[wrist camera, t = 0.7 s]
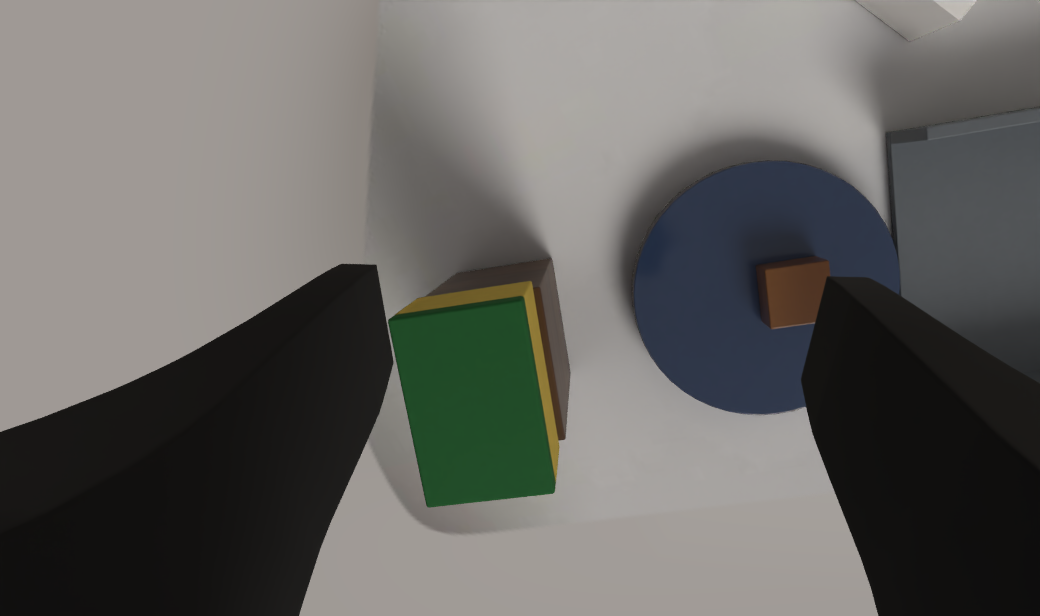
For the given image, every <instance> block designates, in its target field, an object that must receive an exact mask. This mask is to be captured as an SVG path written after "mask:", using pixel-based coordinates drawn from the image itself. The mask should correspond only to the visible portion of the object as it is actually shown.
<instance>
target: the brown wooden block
mask: <svg viewBox="0 0 1040 616" xmlns="http://www.w3.org/2000/svg"><path fill="white" fill-rule="evenodd" d="M526 281H531V282H532V286H533V292H534V298H535V304H536V310H537V316H538V322H539V328H540V334H541V340H542V346H543V352H544V358H545V364H546V370H547V376H548V382H549V388H550V394H551V400H552V406H553V412H554V418H555V424H556V430H557V436H558V440H564V439H565V437H566V424H567V412H568V399H569V386H570V373H571V372H570V366H569V360H568V354H567V347H566V341H565V335H564V329H563V323H562V316H561V310H560V304H559V298H558V291H557V285H556V279H555V273H554V267H553V260H552V258H549V259H542V260H536V261H530V262H523V263H517V264H510V265H504V266H498V267H491V268H485V269H479V270H472V271H466V272H460V273H456V274H455V275H453V276H452V277H451V278H449V279H448V280H447V281H445V282H444V283H443V284H441V285H440V286H439V287H437V288H436V289H435V290H433V291H432V292H431V293H429V294H428V295H427V296H425V297H428V296H435V295H441V294H448V293H454V292H461V291H467V290H474V289H480V288H487V287H493V286H500V285H506V284H513V283H519V282H526Z"/></svg>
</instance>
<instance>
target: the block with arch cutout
mask: <svg viewBox="0 0 1040 616" xmlns="http://www.w3.org/2000/svg"><path fill="white" fill-rule="evenodd" d="M855 1H857V2H858V3H859V4H861V5H862V6H863V7H865V8H866V9H867V10H869V11H870V12H871V13H873V14H874V15H875V16H876V17H878V18H879V19H880V20H882V21H883V22H884V23H886V24H887V25H888V26H890V27H891V28H892V29H894V30H895V31H896V32H898V33H899V34H900V35H902V36H903V37H904V38H905V39H907V40H908V41H909V42H911V41H913V40H915V39H918V38H920V37H923V36H925V35H927V34H930V33H932V32H935V31H937V30H939V29H942V28H944V27H947V26H949V25H951V24H954V23H956V22H959V21H960V20H961V19H962V18H963V17H964V15H965V14H966V13H967V12H968V11H969V9H970V8H971V7H972V6H973V4H974V3H975V2H976V1H977V0H855Z"/></svg>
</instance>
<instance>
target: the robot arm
mask: <svg viewBox="0 0 1040 616" xmlns="http://www.w3.org/2000/svg"><path fill="white" fill-rule="evenodd" d="M392 366H393V357H392V351H391V345H390V340H389V334H388V328H387V322H386V317H385V311H384V305H383V300H382V294H381V288H380V283H379V277H378V271H377V265H365V264H340V265H338V266H336V267H334V268H332V269H330V270H328V271H327V272H325V273H323V274H321V275H320V276H318V277H316V278H315V279H313V280H311V281H310V282H308V283H307V284H305V285H303V286H302V287H300V288H299V289H297V290H296V291H294V292H292V293H291V294H289V295H288V296H286V297H284V298H283V299H281V300H280V301H278V302H276V303H275V304H273V305H272V306H270V307H268V308H267V309H265V310H264V311H262V312H260V313H259V314H257V315H256V316H254V317H253V318H251V319H249V320H247V321H246V322H244V323H243V324H240V325H239V326H237V327H235V328H234V329H232V330H230V331H228V332H227V333H225V334H223V335H221V336H220V337H218V338H216V339H214V340H213V341H211V342H209V343H207V344H206V345H204V346H202V347H200V348H199V349H197V350H195V351H193V352H191V353H189V354H187V355H186V356H184V357H182V358H180V359H178V360H176V361H174V362H172V363H170V364H168V365H166V366H164V367H162V368H160V369H158V370H155V371H153V372H151V373H149V374H147V375H145V376H142V377H140V378H139V379H136V380H134V381H132V382H130V383H127V384H125V385H123V386H121V387H118V388H116V389H114V390H111V391H109V392H106V393H103V394H101V395H99V396H96V397H93V398H91V399H89V400H86V401H83V402H81V403H78V404H76V405H73V406H71V407H68V408H66V409H63V410H60V411H58V412H55V413H53V414H50V415H48V416H45V417H42V418H40V419H37V420H34V421H31V422H28V423H25V424H22V425H19V426H16V427H14V428H11V429H8V430H5V431H2V432H0V616H299V614H300V610H301V607H302V604H303V600H304V597H305V594H306V591H307V588H308V585H309V582H310V579H311V575H312V573H313V569H314V566H315V563H316V560H317V557H318V554H319V551H320V548H321V545H322V543H323V540H324V538H325V535H326V533H327V530H328V527H329V525H330V523H331V520H332V518H333V516H334V514H335V511H336V509H337V507H338V504H339V502H340V500H341V498H342V496H343V493H344V491H345V489H346V487H347V485H348V482H349V480H350V478H351V476H352V474H353V471H354V469H355V467H356V465H357V462H358V460H359V458H360V456H361V454H362V451H363V449H364V447H365V444H366V442H367V440H368V438H369V435H370V433H371V431H372V429H373V426H374V424H375V422H376V419H377V417H378V415H379V412H380V409H381V406H382V402H383V399H384V396H385V392H386V389H387V385H388V381H389V377H390V374H391V370H392ZM801 384H802V388H803V393H804V398H805V403H806V408H807V412H808V416H809V420H810V425H811V429H812V433H813V436H814V439H815V441H816V444H817V447H818V449H819V452H820V455H821V457H822V460H823V463H824V465H825V468H826V470H827V473H828V476H829V478H830V481H831V483H832V486H833V488H834V491H835V494H836V496H837V499H838V501H839V504H840V506H841V509H842V511H843V514H844V516H845V519H846V522H847V524H848V526H849V529H850V532H851V534H852V537H853V539H854V542H855V545H856V547H857V550H858V552H859V555H860V557H861V560H862V563H863V566H864V569H865V572H866V575H867V577H868V580H869V583H870V586H871V590H872V593H873V597H874V601H875V605H876V608H877V612H878V616H1040V383H1038V382H1037V381H1035V380H1033V379H1032V378H1030V377H1028V376H1026V375H1025V374H1023V373H1021V372H1019V371H1018V370H1016V369H1014V368H1012V367H1011V366H1009V365H1007V364H1006V363H1004V362H1003V361H1001V360H999V359H998V358H996V357H994V356H993V355H991V354H990V353H988V352H986V351H985V350H983V349H982V348H980V347H978V346H977V345H975V344H974V343H972V342H970V341H969V340H967V339H966V338H964V337H963V336H961V335H960V334H958V333H957V332H955V331H953V330H952V329H950V328H949V327H947V326H946V325H944V324H943V323H941V322H940V321H938V320H937V319H935V318H934V317H932V316H931V315H929V314H928V313H926V312H924V311H923V310H921V309H920V308H918V307H917V306H915V305H914V304H912V303H911V302H909V301H908V300H906V299H905V298H903V297H901V296H900V295H898V294H897V293H895V292H894V291H892V290H890V289H889V288H887V287H885V286H884V285H882V284H880V283H878V282H877V281H875V280H873V279H871V278H869V277H835V276H827V278H826V282H825V286H824V290H823V294H822V298H821V302H820V306H819V310H818V313H817V317H816V321H815V325H814V329H813V333H812V337H811V341H810V345H809V349H808V353H807V357H806V361H805V365H804V368H803V372H802V376H801Z"/></svg>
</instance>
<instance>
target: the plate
mask: <svg viewBox="0 0 1040 616" xmlns="http://www.w3.org/2000/svg"><path fill="white" fill-rule="evenodd" d="M813 256H817V257H820V258H823V259H826V260H829V266H830V276H835V277H869V278H871V279H873V280H875V281H877V282H878V283H880V284H882V285H884V286H885V287H887V288H889V289H890V290H892V291H894V292H895V293H897V294H898V295H899V292H900V271H899V264H898V256H897V253H896V249H895V246H894V242H893V239H892V237H891V235H890V233H889V230H888V228H887V226H886V224H885V222H884V221H883V219H882V218H881V216H880V215H879V213H878V212H877V210H876V209H875V208H874V207H873V205H872V204H871V203H870V202H869V201H868V200H867V199H866V197H865V196H863V195H862V194H861V193H860V192H859V191H858V190H856V189H855V188H854V187H853V186H852V185H850V184H849V183H847V182H845V181H844V180H842V179H841V178H839V177H838V176H836V175H833V174H831V173H829V172H827V171H825V170H822V169H820V168H816V167H813V166H810V165H806V164H802V163H796V162H790V161H758V162H748V163H742V164H737V165H733V166H729V167H726V168H723V169H720V170H718V171H715V172H712V173H710V174H708V175H706V176H704V177H702V178H700V179H698V180H697V181H695V182H693V183H692V184H690V185H689V186H688V187H686V188H685V189H683V190H682V191H681V192H679V193H678V194H677V195H676V196H675V197H674V198H673V199H672V200H671V201H669V202H668V204H667V205H666V206H665V207H664V208H663V209H662V210H661V212H660V213H659V214H658V215H657V217H656V218H655V220H654V221H653V223H652V224H651V226H650V227H649V229H648V231H647V233H646V235H645V237H644V239H643V241H642V243H641V245H640V248H639V251H638V254H637V257H636V260H635V265H634V270H633V276H632V303H633V310H634V315H635V320H636V323H637V326H638V329H639V332H640V335H641V337H642V340H643V343H644V345H645V347H646V348H647V350H648V352H649V354H650V356H651V358H652V359H653V360H654V362H655V363H656V365H657V366H658V367H659V369H660V370H661V371H662V372H663V373H664V374H665V375H666V376H667V378H668V379H669V380H670V381H671V382H673V383H674V384H675V385H676V386H677V387H679V388H680V389H681V390H682V391H684V392H685V393H687V394H689V395H690V396H692V397H693V398H695V399H697V400H699V401H701V402H703V403H705V404H708V405H710V406H712V407H715V408H719V409H722V410H725V411H729V412H735V413H740V414H751V415H768V414H779V413H785V412H790V411H795V410H798V409H801V408H804V407H806V403H805V398H804V393H803V388H802V384H801V376H802V372H803V368H804V365H805V361H806V357H807V353H808V349H809V345H810V341H811V337H812V333H813V329H814V325H815V323H814V324H807V325H800V326H792V327H785V328H778V329H770V328H769V327H768V326H767V325H765V324H764V323H763V322H762V321H761V311H760V302H759V292H758V283H757V273H756V265H759V264H766V263H773V262H779V261H786V260H793V259H799V258H806V257H813Z"/></svg>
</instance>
